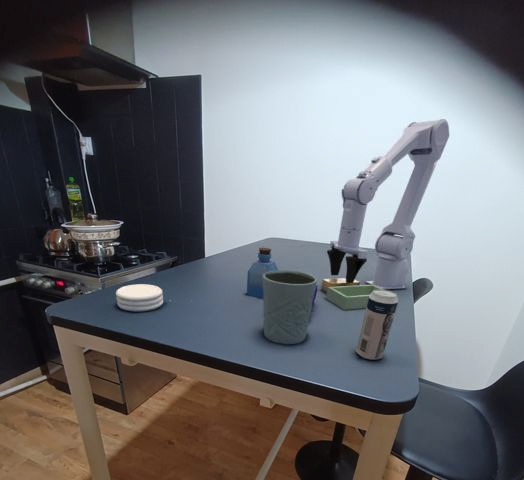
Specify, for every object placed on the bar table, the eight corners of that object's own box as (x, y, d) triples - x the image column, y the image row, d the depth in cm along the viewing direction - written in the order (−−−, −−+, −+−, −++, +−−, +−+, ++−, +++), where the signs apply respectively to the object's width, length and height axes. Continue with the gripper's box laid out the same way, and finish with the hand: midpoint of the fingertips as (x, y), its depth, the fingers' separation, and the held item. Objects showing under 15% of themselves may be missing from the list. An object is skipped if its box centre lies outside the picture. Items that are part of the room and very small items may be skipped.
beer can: (383, 363, 56) (402, 299, 51) (356, 359, 57) (371, 295, 52) (380, 351, 61) (397, 290, 55) (355, 347, 61) (369, 287, 56)
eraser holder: (370, 295, 92) (372, 284, 91) (390, 305, 85) (393, 294, 84) (325, 298, 87) (327, 287, 85) (344, 309, 80) (346, 297, 78)
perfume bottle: (276, 293, 88) (280, 248, 82) (267, 299, 83) (270, 252, 77) (257, 289, 90) (259, 245, 85) (246, 294, 85) (248, 248, 80)
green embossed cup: (307, 349, 59) (316, 286, 54) (254, 341, 61) (258, 280, 55) (309, 328, 68) (317, 272, 63) (263, 322, 69) (267, 267, 64)
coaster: (146, 294, 80) (144, 281, 78) (172, 304, 75) (171, 290, 73) (108, 304, 73) (106, 289, 71) (135, 316, 68) (133, 300, 66)
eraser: (349, 288, 97) (351, 277, 95) (357, 293, 93) (360, 282, 92) (320, 290, 93) (322, 279, 92) (328, 295, 90) (330, 283, 88)
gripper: (324, 224, 89) (317, 272, 96) (355, 232, 78) (344, 286, 84) (345, 225, 92) (336, 271, 98) (378, 233, 80) (366, 285, 87)
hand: (341, 278), depth 91 cm, fingers open, 7 cm apart
